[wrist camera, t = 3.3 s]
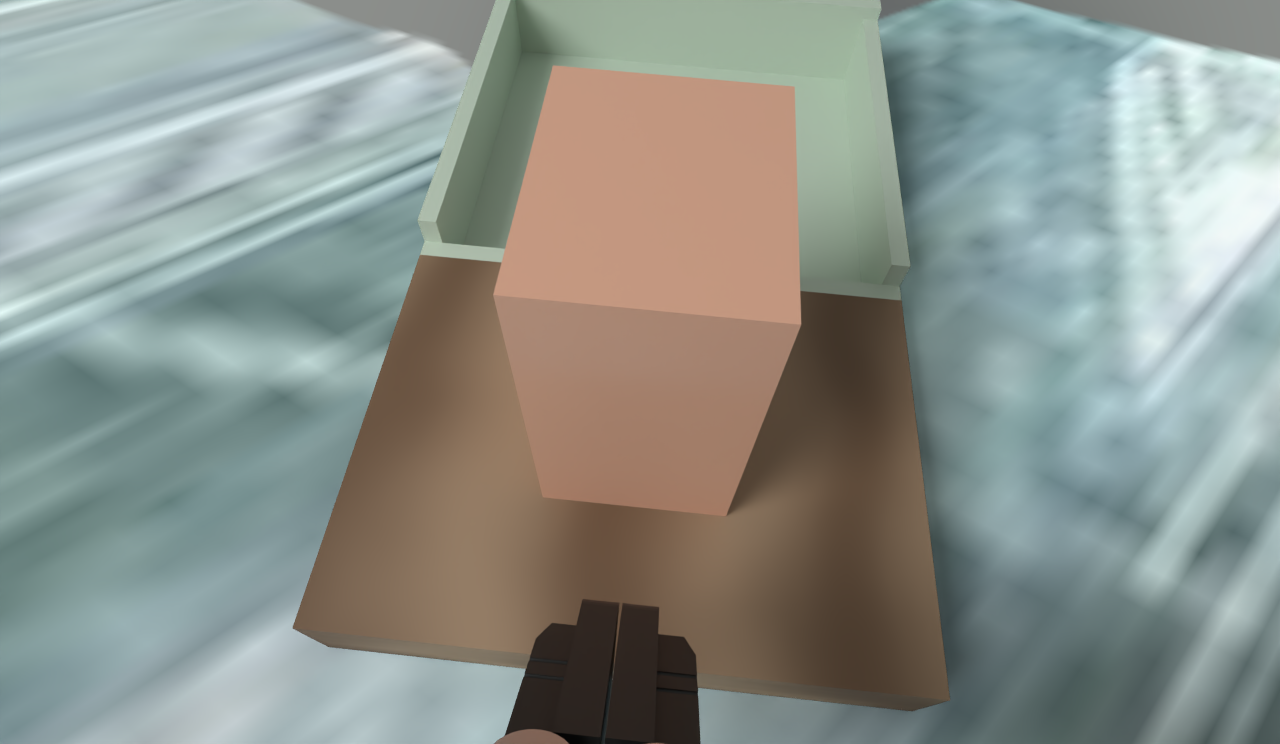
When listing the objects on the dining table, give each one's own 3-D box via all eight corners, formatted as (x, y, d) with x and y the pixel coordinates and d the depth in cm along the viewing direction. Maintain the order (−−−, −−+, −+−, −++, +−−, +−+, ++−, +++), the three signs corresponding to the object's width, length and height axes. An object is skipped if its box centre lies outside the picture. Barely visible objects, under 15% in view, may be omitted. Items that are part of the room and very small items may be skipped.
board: (877, 342, 25) (901, 300, 23) (912, 711, 19) (950, 700, 17) (436, 300, 25) (420, 254, 23) (328, 646, 19) (292, 628, 17)
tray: (852, 83, 33) (880, 0, 29) (877, 342, 25) (918, 270, 22) (513, 54, 33) (501, -32, 30) (436, 300, 25) (408, 223, 22)
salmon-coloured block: (732, 334, 22) (794, 86, 14) (726, 516, 19) (801, 324, 11) (575, 319, 22) (553, 65, 14) (542, 497, 19) (492, 295, 11)
